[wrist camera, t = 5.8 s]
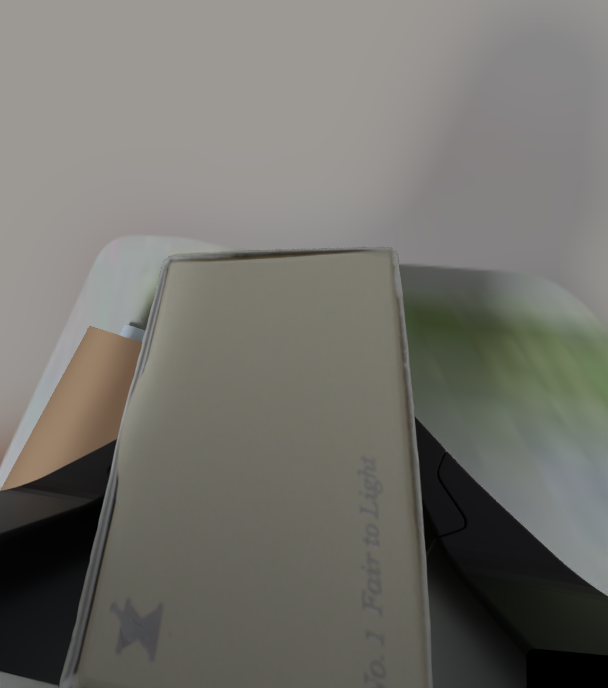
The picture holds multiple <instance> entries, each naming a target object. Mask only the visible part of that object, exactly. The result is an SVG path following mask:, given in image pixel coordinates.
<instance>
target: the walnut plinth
mask: <svg viewBox="0 0 608 688" xmlns="http://www.w3.org/2000/svg"><path fill="white" fill-rule="evenodd" d="M141 347H142V342H139V341H136V340H133V339H130V338H126V337H123V336H120V335H117V334H114V333H110V332H107V331H104V330H101V329H98V328H95V327H91V326H89V328H88V330H87V332H86V334H85V335H84V337H83V339H82V341H81V343H80V345H79V347H78V348H77V350H76V352H75V354H74V356H73V358H72V359H71V361H70V363H69V365H68V367H67V369H66V370H65V372H64V374H63V376H62V378H61V380H60V382H59V383H58V385H57V387H56V389H55V391H54V393H53V394H52V396H51V398H50V400H49V402H48V404H47V405H46V407H45V409H44V411H43V413H42V415H41V416H40V418H39V420H38V422H37V424H36V426H35V428H34V429H33V431H32V433H31V435H30V437H29V439H28V440H27V442H26V444H25V446H24V448H23V450H22V451H21V453H20V455H19V457H18V459H17V461H16V462H15V464H14V466H13V468H12V470H11V472H10V474H9V475H8V477H7V479H6V481H5V483H4V485H3V486H2V488H1V490H0V491H2V490H7V489H10V488H14V487H18V486H21V485H24V484H27V483H30V482H32V481H35V480H37V479H39V478H42V477H44V476H46V475H48V474H50V473H52V472H54V471H56V470H58V469H60V468H62V467H63V466H65V465H67V464H69V463H71V462H73V461H75V460H77V459H79V458H81V457H83V456H85V455H87V454H89V453H91V452H93V451H95V450H97V449H99V448H101V447H102V446H104V445H106V444H108V443H110V442H112V441H114V440H116V439H117V438H118V434H119V429H120V425H121V421H122V417H123V413H124V409H125V405H126V401H127V397H128V394H129V390H130V386H131V383H132V380H133V378H134V375H135V370H136V366H137V361H138V357H139V354H140V351H141Z"/></svg>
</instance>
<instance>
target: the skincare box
mask: <svg viewBox="0 0 608 688" xmlns="http://www.w3.org/2000/svg"><path fill="white" fill-rule="evenodd" d="M59 688H433V676H432V664H431V622H430V612H429V597H428V585H427V565H426V550H425V539H424V525H423V510H422V496H421V483H420V470H419V457H418V449H417V439H416V427H415V417H414V402H413V392H412V383H411V374H410V364H409V348H408V340H407V332H406V324H405V313H404V304H403V291H402V283H401V277H400V270H399V260H398V255H397V252H396V251H395V250H394V249H392V248H387V247H376V248H375V247H374V248H367V247H366V248H365V247H361V248H338V249H337V248H336V249H327V248H325V249H291V250H280V249H279V250H255V251H231V252H215V253H187V254H175V255H172V256H169V257H168V258H167V259H166V260H165V261H163V264H162V267H161V271H160V275H159V280H158V284H157V288H156V293H155V296H154V300H153V303H152V306H151V310H150V314H149V318H148V323H147V327H146V331H145V334H144V337H143V341H142V347H141V351H140V354H139V357H138V361H137V366H136V370H135V375H134V378H133V380H132V383H131V386H130V390H129V394H128V397H127V401H126V405H125V409H124V413H123V417H122V421H121V425H120V429H119V434H118V438H117V442H116V447H115V451H114V456H113V461H112V467H111V472H110V477H109V481H108V485H107V489H106V493H105V498H104V502H103V506H102V510H101V514H100V518H99V523H98V529H97V532H96V536H95V539H94V543H93V547H92V551H91V555H90V563H89V566H88V569H87V573H86V578H85V582H84V587H83V590H82V594H81V598H80V602H79V607H78V614H77V620H76V624H75V627H74V630H73V634H72V638H71V642H70V646H69V649H68V653H67V657H66V660H65V664H64V668H63V671H62V675H61V679H60V685H59Z"/></svg>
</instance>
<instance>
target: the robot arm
mask: <svg viewBox="0 0 608 688" xmlns="http://www.w3.org/2000/svg"><path fill="white" fill-rule="evenodd" d="M414 417H415V416H414ZM415 427H416V439H417V449H418V457H419V470H420V483H421V496H422V510H423V525H424V539H425V550H426V565H427V585H428V597H429V612H430V622H431V664H432V676H433V688H608V596H607V595H605V594H604V593H602V592H600V591H599V590H597V589H596V588H595V587H593V586H592V585H590V584H589V583H588V582H586V581H585V580H584V579H582V578H581V577H580V576H578V575H577V574H576V573H575V572H573V571H572V570H571V569H570V568H568V567H567V566H566V565H565V564H564V563H563V562H562V561H560V560H559V559H558V558H557V557H556V556H555V555H554V554H553V553H552V552H551V551H549V550H548V549H547V548H546V547H545V546H544V545H543V544H542V543H541V542H540V541H539V540H538V539H537V538H535V537H534V536H533V535H532V534H531V533H530V532H529V531H528V530H527V529H526V528H525V527H524V526H523V525H521V524H520V523H519V522H518V521H517V520H516V519H515V518H514V517H513V516H512V515H511V514H510V513H509V512H507V511H506V510H505V509H504V508H503V507H502V506H501V505H500V504H499V503H498V502H497V501H496V500H495V499H494V498H493V497H492V496H490V495H489V494H488V493H487V492H486V491H485V490H484V489H483V488H482V487H481V486H480V485H479V484H478V483H477V482H476V481H475V480H474V479H473V478H472V477H471V476H470V475H469V474H468V473H467V472H466V471H465V470H464V469H463V468H462V467H461V466H460V465H459V464H458V463H457V461H456V460H455V459H454V458H453V457H452V456H451V455H450V454H449V453H448V452H446V450H445V449H444V448H443V446H442V445H441V444H440V443H439V442H438V441H437V440H436V439H435V438H434V437H433V436H432V435H431V433H430V432H429V431H428V430H427V429H426V428H425V427H424V426H423V425H422V424H421V423H420V422H419V420H418V419H417V418H416V417H415ZM116 442H117V439H116V440H114V441H112V442H110V443H108V444H106V445H104V446H102V447H101V448H99V449H97V450H95V451H93V452H91V453H89V454H87V455H85V456H83V457H81V458H79V459H77V460H75V461H73V462H71V463H69V464H67V465H65V466H63V467H62V468H60V469H58V470H56V471H54V472H52V473H50V474H48V475H46V476H44V477H42V478H39V479H37V480H35V481H32V482H30V483H27V484H24V485H21V486H18V487H14V488H10V489H7V490H2V491H0V688H59V685H60V679H61V675H62V671H63V668H64V664H65V660H66V657H67V653H68V649H69V646H70V642H71V638H72V634H73V630H74V627H75V624H76V620H77V614H78V607H79V602H80V598H81V594H82V590H83V587H84V582H85V578H86V573H87V569H88V566H89V563H90V555H91V551H92V547H93V543H94V539H95V536H96V532H97V529H98V523H99V518H100V514H101V510H102V506H103V502H104V498H105V493H106V489H107V485H108V481H109V477H110V472H111V467H112V461H113V456H114V451H115V447H116Z"/></svg>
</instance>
